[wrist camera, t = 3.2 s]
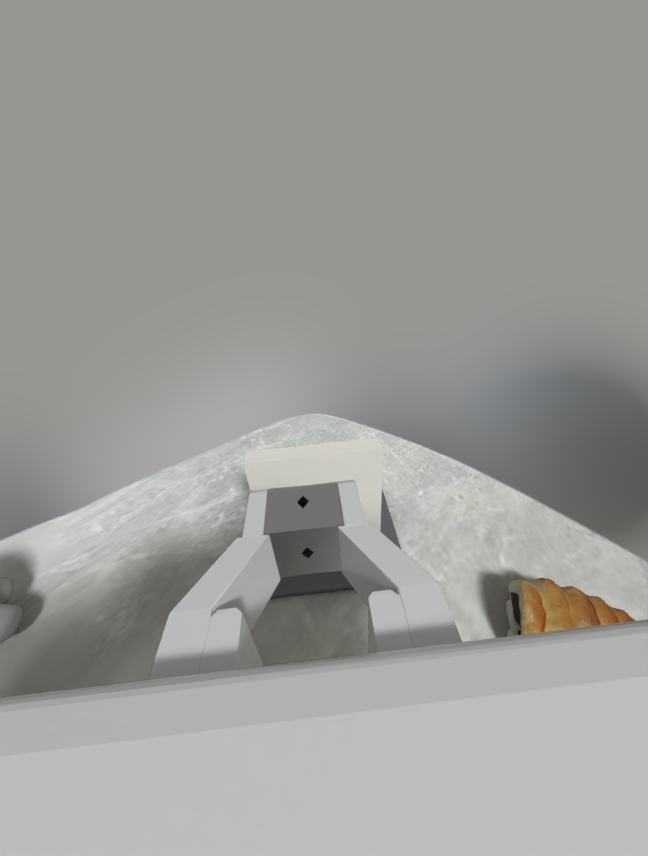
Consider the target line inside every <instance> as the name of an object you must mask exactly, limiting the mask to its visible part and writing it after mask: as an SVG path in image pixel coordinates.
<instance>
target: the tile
mask: <svg viewBox="0 0 648 856" xmlns="http://www.w3.org/2000/svg"><path fill="white" fill-rule="evenodd" d="M243 466H244V470H245V473H246V477H247V480H248V484H249V488H250V491H251V490H264V489H271V488H282V487H294V486H304V485H312V484H321V483H329V482H337V481H345V480H353V479H354V480H355V481H356V485H357V490H358V494H359V498H360V503H361V507H362V511H363V516H364V520H365V524H367V523H371V524H372V525H373V526H375V527H376V528H377V529H378V530H379V531H380V529H381V498H382V466H383V447H382V445H381V442H380V439H379V438H371V439H362V440H352V441H343V442H333V443H324V444H314V445H305V446H295V447H286V448H276V449H266V450H257V451H247V452H245V456H244V461H243Z"/></svg>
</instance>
